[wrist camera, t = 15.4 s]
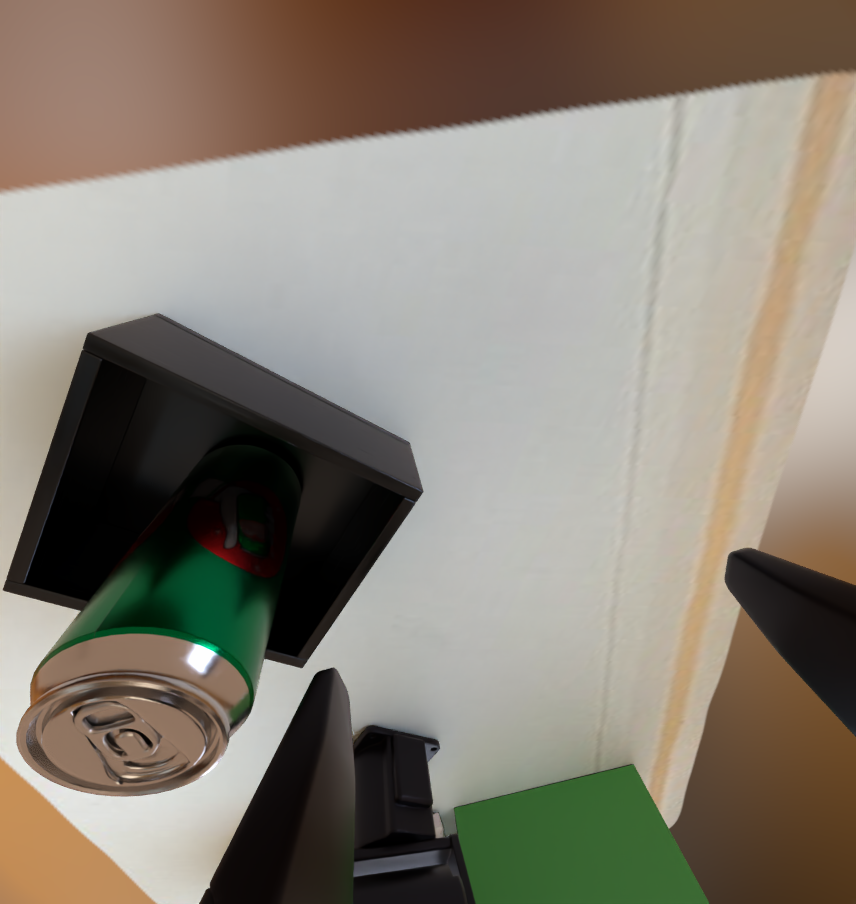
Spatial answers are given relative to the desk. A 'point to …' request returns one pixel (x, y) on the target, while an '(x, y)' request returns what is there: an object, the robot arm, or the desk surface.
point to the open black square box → (182, 446)
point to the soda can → (169, 637)
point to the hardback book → (575, 846)
